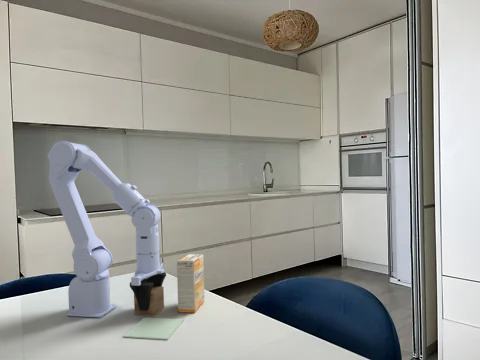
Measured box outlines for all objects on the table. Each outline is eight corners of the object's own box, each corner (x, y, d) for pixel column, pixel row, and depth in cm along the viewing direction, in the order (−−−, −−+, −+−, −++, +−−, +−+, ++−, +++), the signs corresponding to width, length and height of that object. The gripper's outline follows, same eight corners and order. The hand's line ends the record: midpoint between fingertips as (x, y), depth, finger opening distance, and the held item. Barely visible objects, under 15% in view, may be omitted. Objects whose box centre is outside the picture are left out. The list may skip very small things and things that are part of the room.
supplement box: (195, 313, 89) (194, 260, 89) (177, 312, 90) (176, 260, 90) (205, 301, 97) (204, 253, 97) (188, 301, 98) (187, 253, 98)
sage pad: (123, 337, 76) (123, 335, 76) (144, 318, 86) (144, 317, 86) (167, 339, 74) (167, 338, 74) (183, 320, 84) (183, 319, 84)
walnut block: (134, 314, 89) (133, 292, 89) (144, 306, 94) (143, 286, 94) (155, 315, 88) (154, 293, 88) (164, 307, 93) (163, 286, 93)
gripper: (150, 259, 83) (151, 317, 83) (173, 246, 98) (174, 296, 98) (122, 258, 85) (124, 315, 85) (149, 246, 99) (150, 295, 99)
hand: (149, 305), depth 91 cm, fingers closed on walnut block, 5 cm apart
